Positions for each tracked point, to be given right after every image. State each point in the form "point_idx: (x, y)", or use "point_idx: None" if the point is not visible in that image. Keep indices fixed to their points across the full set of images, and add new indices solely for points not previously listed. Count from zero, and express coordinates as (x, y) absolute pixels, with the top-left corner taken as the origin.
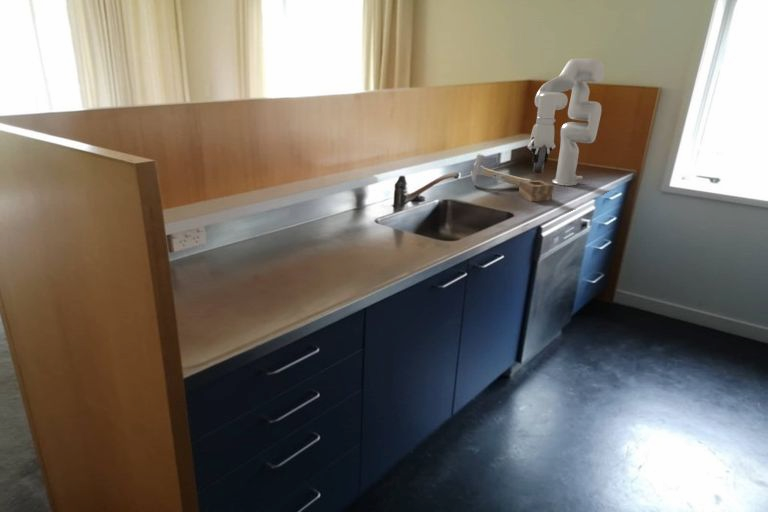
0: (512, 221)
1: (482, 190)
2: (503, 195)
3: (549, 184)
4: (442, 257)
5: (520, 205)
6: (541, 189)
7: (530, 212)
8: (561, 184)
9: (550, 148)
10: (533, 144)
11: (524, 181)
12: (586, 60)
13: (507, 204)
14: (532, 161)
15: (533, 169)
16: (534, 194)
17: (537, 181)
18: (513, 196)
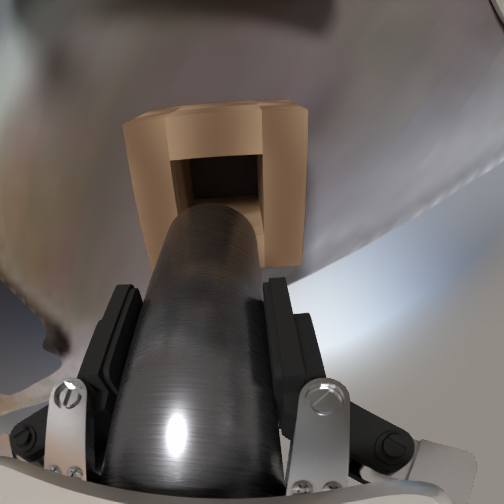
0: (66, 372)
1: (22, 20)
2: (75, 107)
3: (293, 240)
4: (5, 412)
5: (104, 273)
6: None
7: None
8: (498, 12)
9: (364, 479)
10: (25, 493)
11: (151, 136)
12: None
13: (60, 254)
14: (118, 291)
15: (164, 240)
16: None
17: (258, 146)
18: (117, 128)
